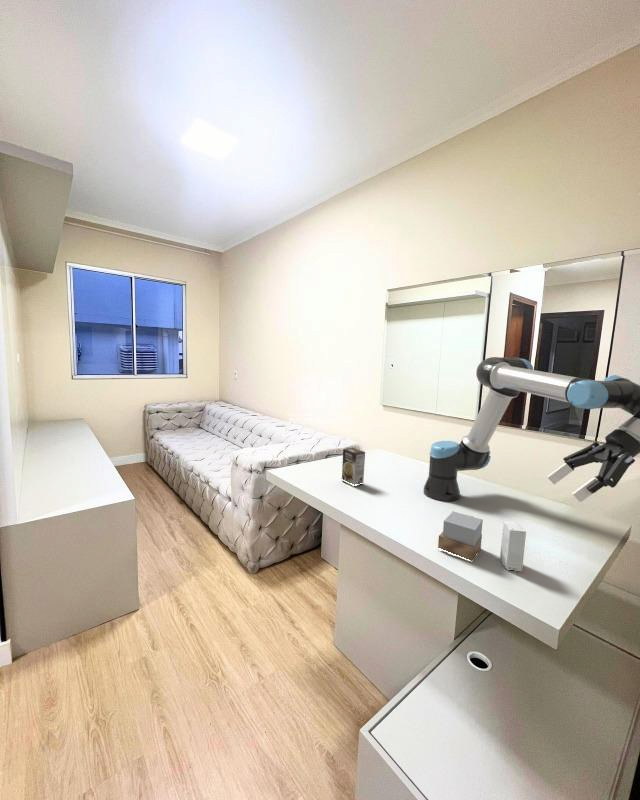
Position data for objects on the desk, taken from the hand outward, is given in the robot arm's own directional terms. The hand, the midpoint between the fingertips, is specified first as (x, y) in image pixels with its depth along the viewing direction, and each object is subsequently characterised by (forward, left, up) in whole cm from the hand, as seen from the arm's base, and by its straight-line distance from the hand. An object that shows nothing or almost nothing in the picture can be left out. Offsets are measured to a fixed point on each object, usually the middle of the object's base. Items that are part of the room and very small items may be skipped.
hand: (562, 488), depth 95 cm
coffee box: (-81, +20, -24) cm, 87 cm away
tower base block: (-24, -7, -24) cm, 35 cm away
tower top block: (-23, -7, -19) cm, 31 cm away
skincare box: (-10, -6, -24) cm, 27 cm away
